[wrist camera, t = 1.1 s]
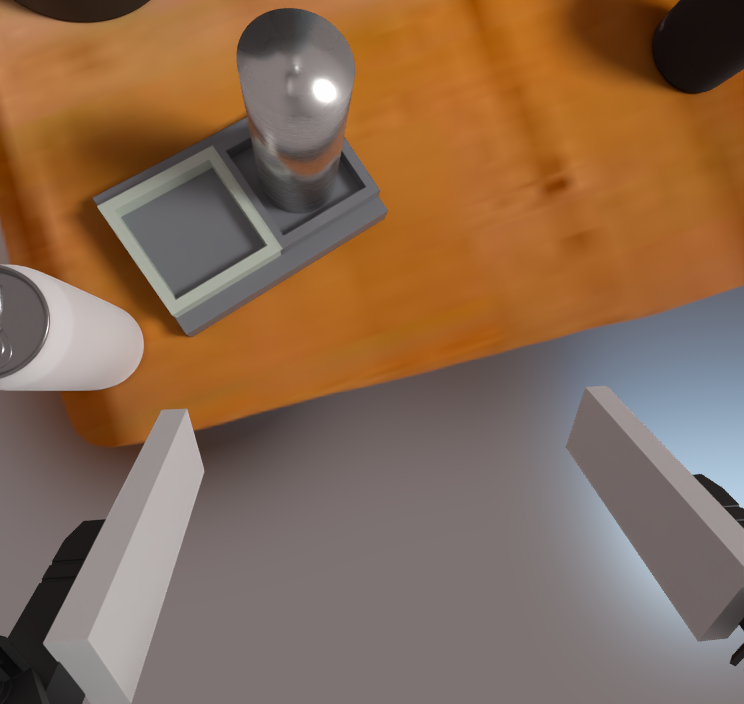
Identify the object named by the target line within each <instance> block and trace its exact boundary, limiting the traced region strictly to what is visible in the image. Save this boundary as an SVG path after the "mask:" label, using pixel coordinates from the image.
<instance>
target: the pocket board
mask: <svg viewBox="0 0 744 704" xmlns="http://www.w3.org/2000/svg"><path fill="white" fill-rule="evenodd" d="M379 192H380V189H379V188H378V186H377V185H376V183H375V182H374V180H373V179H372V177H371V176H370V174H369V173H368V172H367V170H366V169H365V167H364V166H363V164H362V163H361V161H360V160H359V158H358V157H357V155H356V154H355V152H354V151H353V149H352V148H351V146H350V145H349V143H348V142H347V140H346V139H345V137H344V139H343V145H342V150H341V156H340V161H339V167H338V173H337V178H336V184H335V188H334V192H333V194H332V196H331V198H330V199H329V200H328V202H327V203H326V204H325V205H323V206H322V207H321V208H319V209H317V210H315V211H313V212H309V213H303V214H296V213H290V212H287V211H284V210H282V209H280V208H278V207H277V206H275V205H274V204H273V203H271V202H270V201H269V200H268V198H267V197H266V196H265V194H264V192H263V191H262V188H261V186H260V182H259V177H258V172H257V167H256V161H255V156H254V151H253V146H252V141H251V135H250V130H249V125H248V120H247V117H246V118H244V119H242V120H240V121H238V122H236V123H235V124H233V125H231V126H229V127H227V128H225V129H223V130H221V131H219V132H217V133H215V134H213V135H212V136H210V137H208V138H206V139H204V140H202V141H200V142H198V143H196V144H194V145H192V146H191V147H189V148H187V149H185V150H183V151H181V152H179V153H177V154H175V155H173V156H171V157H169V158H168V159H166V160H164V161H162V162H160V163H158V164H156V165H154V166H152V167H150V168H148V169H146V170H145V171H143V172H141V173H139V174H137V175H135V176H133V177H131V178H129V179H127V180H125V181H124V182H122V183H120V184H118V185H116V186H114V187H112V188H110V189H108V190H106V191H104V192H102V193H101V194H99V195H97V196H95V197H93V200H94V201H95V203H96V204H97V207H98V209H99V210H100V212H101V213H102V215H103V216H104V217H105V219H106V220H107V222H108V223H109V225H110V226H111V228H112V229H113V230H114V232H115V233H116V235H117V236H118V238H119V239H120V241H121V242H122V244H123V245H124V246H125V248H126V249H127V251H128V252H129V254H130V255H131V257H132V258H133V259H134V261H135V262H136V264H137V265H138V267H139V268H140V270H141V271H142V273H143V274H144V275H145V277H146V278H147V280H148V281H149V283H150V284H151V286H152V287H153V288H154V290H155V291H156V293H157V294H158V296H159V297H160V299H161V300H162V302H163V303H164V304H165V306H166V307H167V309H168V310H169V312H170V313H171V315H172V316H174V317H175V319H176V320H177V322H178V323H179V325H180V326H181V327H182V329H183V330H184V332H185V333H186V335H188V336H190V337H193V336H195V335H196V334H198V333H200V332H201V331H203V330H204V329H206V328H208V327H209V326H211V325H213V324H214V323H216V322H217V321H219V320H221V319H222V318H224V317H226V316H227V315H229V314H230V313H232V312H234V311H235V310H237V309H239V308H240V307H242V306H243V305H245V304H247V303H248V302H250V301H251V300H253V299H255V298H256V297H258V296H260V295H261V294H263V293H264V292H266V291H268V290H269V289H271V288H273V287H274V286H276V285H277V284H279V283H281V282H282V281H284V280H286V279H287V278H289V277H290V276H292V275H294V274H295V273H297V272H299V271H300V270H302V269H303V268H305V267H307V266H308V265H310V264H311V263H313V262H315V261H316V260H318V259H320V258H321V257H323V256H324V255H326V254H328V253H329V252H331V251H333V250H334V249H336V248H337V247H339V246H341V245H342V244H344V243H346V242H347V241H349V240H350V239H352V238H354V237H355V236H357V235H359V234H360V233H362V232H363V231H365V230H367V229H368V228H370V227H371V226H373V225H375V224H376V223H378V222H380V221H381V220H383V219H384V218H385V216H386V214H387V212H388V210H387V209H386V207H385V206H384V204H383V203H382V201H381V200H380V198H379V197H378V195H379Z"/></svg>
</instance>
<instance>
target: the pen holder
mask: <svg viewBox="0 0 744 704" xmlns="http://www.w3.org/2000/svg"><path fill="white" fill-rule="evenodd" d="M653 54H654V59H655V62H656V64H657V67H658V69H659V70H660V72H661V73H662V75H663V76H664V77H665V78H666V80H667V81H668V82H670V83H671V84H672V85H673V86H675V87H677V88H678V89H680V90H683V91H686V92H692V93H700V92H706V91H709V90H711V89H713V88H715V87H717V86H718V85H720V84H721V83H723V82H724V81H726V80H728V79H729V78H731V77H732V76H734V75H735V74H737V73H738V72H740V71H741V70H743V69H744V0H680V1H679V2H678V3H677V4H676V5H675V6H674V7H673V8H672V10H671V11H670V12H669V13H668V14H667V15H666V16H665V17H664V18H663V20H662V21H661V22H660V24H659V25H658V27H657V29H656V32H655V35H654V40H653Z"/></svg>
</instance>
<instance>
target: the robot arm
mask: <svg viewBox="0 0 744 704" xmlns="http://www.w3.org/2000/svg"><path fill="white" fill-rule="evenodd" d="M15 1H16V2H18V3H20V4H22V5H23V6H25V7H27V8H29V9H31V10H34V11H36V12H39V13H41V14H44V15H47V16H51V17H54V18H59V19H64V20H70V21H101V20H107V19H112V18H116V17H119V16H122V15H125V14H127V13H130V12H132V11H134V10H136V9H138V8H139V7H141V6H143V5H144V4H146V3H147V2H148V1H150V0H15ZM566 448H567V449H568V451H569V452H570V454H571V455H572V457H573V458H574V460H575V461H576V463H577V464H578V466H579V467H580V469H581V470H582V472H583V473H584V474H585V476H586V477H587V479H588V480H589V482H590V483H591V485H592V486H593V488H594V489H595V491H596V492H597V494H598V495H599V497H600V498H601V499H602V501H603V502H604V504H605V505H606V507H607V508H608V510H609V511H610V513H611V514H612V516H613V517H614V519H615V520H616V521H617V523H618V525H619V526H620V527H621V529H622V530H623V532H624V533H625V535H626V536H627V537H628V539H629V541H630V542H631V544H632V545H633V547H634V548H635V549H636V551H637V552H638V554H639V555H640V557H641V558H642V560H643V561H644V562H645V564H646V566H647V567H648V569H649V570H650V572H651V573H652V575H653V576H654V577H655V579H656V580H657V582H658V583H659V584H660V586H661V588H662V589H663V591H664V592H665V594H666V595H667V597H668V598H669V600H670V601H671V602H672V604H673V605H674V607H675V608H676V610H677V611H678V613H679V614H680V616H681V617H682V619H683V620H684V621H685V623H686V624H687V626H688V628H689V629H690V630H691V632H692V633H693V635H694V636H695V638H696V639H697V641H706V640H716V639H724V638H728V637H729V636H730V635H731V633H732V632H733V631H734V630H735V628H737V627H738V625H740V626H741V628H742V629H743V630H744V509H743V508H740V507H739V504H738V503H737V502H736V501H735V500H734V499H733V498H732V497H731V496H730V495H729V494H728V493H727V492H726V491H725V490H724V489H723V488H722V487H720V486H719V485H717V484H716V483H714V482H713V481H711V480H710V479H708V478H707V477H705V476H704V475H702V474H697V475H691V473H690V472H689V471H688V470H687V469H686V468H685V467H684V466H683V465H682V464H681V463H680V462H679V461H678V460H677V459H676V458H675V457H674V455H672V453H671V452H670V451H669V450H668V449H667V448H666V447H665V446H664V445H663V444H662V443H661V442H660V441H659V440H658V439H657V438H656V437H655V436H654V435H653V434H652V433H651V432H650V430H649V429H648V428H646V426H645V425H644V424H643V423H642V422H641V421H640V420H639V419H638V418H637V417H636V416H635V415H634V414H633V413H632V412H631V411H630V410H629V409H628V408H627V407H626V405H625V404H624V403H623V402H622V401H621V400H620V399H619V398H618V397H617V396H616V395H615V394H614V393H613V392H612V391H611V390H610V389H609V388H608V387H607V386H598V387H585V390H584V393H583V396H582V399H581V402H580V405H579V408H578V412H577V414H576V417H575V421H574V424H573V427H572V430H571V433H570V436H569V439H568V442H567V445H566ZM203 473H204V468H203V464H202V461H201V457H200V454H199V450H198V446H197V443H196V439H195V436H194V432H193V428H192V425H191V421H190V418H189V414H188V411H187V409H172V410H161V412H160V414H159V416H158V418H157V420H156V422H155V424H154V426H153V428H152V430H151V432H150V434H149V436H148V438H147V440H146V442H145V444H144V446H143V448H142V450H141V452H140V454H139V456H138V458H137V460H136V462H135V463H134V465H133V467H132V469H131V471H130V473H129V475H128V477H127V479H126V481H125V483H124V485H123V487H122V489H121V491H120V493H119V495H118V497H117V499H116V501H115V503H114V505H113V507H112V509H111V511H110V513H109V515H108V517H107V519H105V520H91V521H83V522H82V523H81V524H80V525H79V526H78V527H77V528H76V529H75V530H74V531H73V532H72V533H71V534H70V535H69V536H68V537H67V538H66V539H65V540H64V542H63V543H62V545H61V547H60V548H59V550H58V552H57V554H56V555H55V557H54V559H53V561H52V565H50V566H49V568H48V569H47V571H46V573H45V574H44V576H43V578H42V582H41V583H39V585H38V586H37V588H36V590H35V592H34V593H33V595H32V597H31V599H30V601H29V602H28V604H27V605H26V607H25V609H24V611H23V612H22V614H21V616H20V618H19V619H18V621H17V623H16V625H15V626H14V628H13V630H12V631H11V633H10V635H9V637H8V638H6V637H4V636H0V704H82V702H83V700H84V697H86V699H87V700H88V701H89V702H90V703H91V704H131V703H132V699H133V696H134V693H135V690H136V686H137V683H138V680H139V677H140V674H141V670H142V667H143V664H144V661H145V658H146V655H147V652H148V648H149V645H150V642H151V639H152V636H153V633H154V629H155V626H156V623H157V620H158V617H159V614H160V610H161V607H162V604H163V601H164V598H165V595H166V591H167V588H168V585H169V582H170V579H171V575H172V572H173V569H174V566H175V563H176V559H177V556H178V553H179V550H180V547H181V544H182V540H183V537H184V534H185V531H186V527H187V525H188V521H189V518H190V515H191V512H192V509H193V505H194V502H195V499H196V496H197V493H198V489H199V486H200V483H201V480H202V477H203ZM743 658H744V644H742V645H741V646H740V648H739V649H738V650H737V651H736V652H735V653H734V654H733V655H732V658H731V661H730V664H732V665H734V666H736V665H737V664H738V663H739V662H740V661H741V660H742V659H743Z"/></svg>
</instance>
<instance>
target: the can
mask: <svg viewBox="0 0 744 704" xmlns="http://www.w3.org/2000/svg"><path fill="white" fill-rule="evenodd" d="M143 350H144V340H143V335H142V332H141V329H140V327H139V325H138V324H137V322H136V321H135V320H134V318H133V317H132V316H131V315H129V314H128V313H127V312H126V311H124V310H122V309H121V308H119V307H117V306H115V305H113V304H111V303H109V302H106V301H104V300H102V299H100V298H98V297H96V296H93V295H91V294H89V293H87V292H85V291H82V290H80V289H78V288H76V287H74V286H71V285H69V284H67V283H65V282H63V281H60V280H58V279H56V278H54V277H51V276H49V275H47V274H44V273H42V272H39V271H37V270H34V269H31V268H27V267H23V266H18V265H0V390H7V391H12V390H13V391H82V390H100V389H105V388H109V387H112V386H115V385H117V384H119V383H121V382H123V381H124V380H126V379H127V378H128V377H129V376H130V375H131V374H132V373H133V372H134V371H135V370H136V368H137V367H138V365H139V363H140V361H141V358H142V355H143Z"/></svg>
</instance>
